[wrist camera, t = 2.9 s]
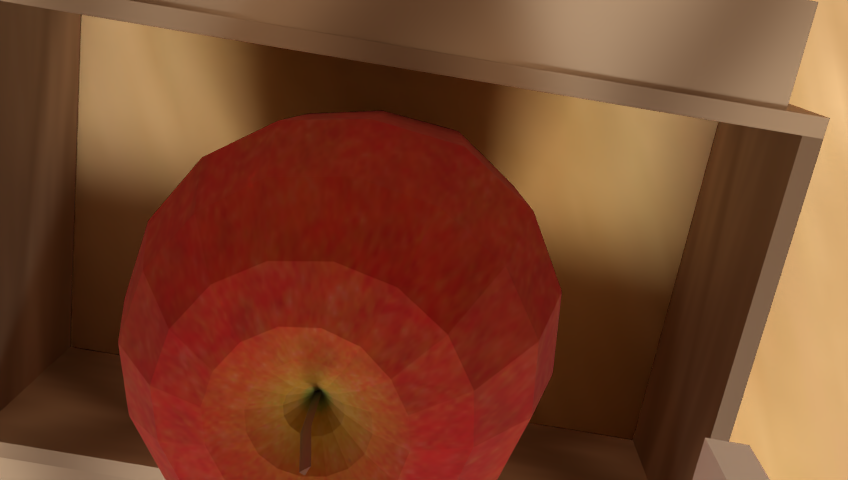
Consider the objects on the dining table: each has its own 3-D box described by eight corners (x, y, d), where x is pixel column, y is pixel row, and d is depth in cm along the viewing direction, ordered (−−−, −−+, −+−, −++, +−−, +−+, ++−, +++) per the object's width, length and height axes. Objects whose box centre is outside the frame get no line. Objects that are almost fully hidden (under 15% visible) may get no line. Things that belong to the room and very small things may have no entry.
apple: (461, 22, 25) (462, 62, 11) (578, 306, 27) (690, 608, 14) (166, 155, 26) (-133, 325, 13) (303, 411, 29) (169, 771, 16)
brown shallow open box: (54, 419, 29) (-45, 523, 24) (68, -115, 24) (-55, -147, 18) (626, 514, 30) (666, 640, 24) (768, 4, 24) (863, 9, 18)
